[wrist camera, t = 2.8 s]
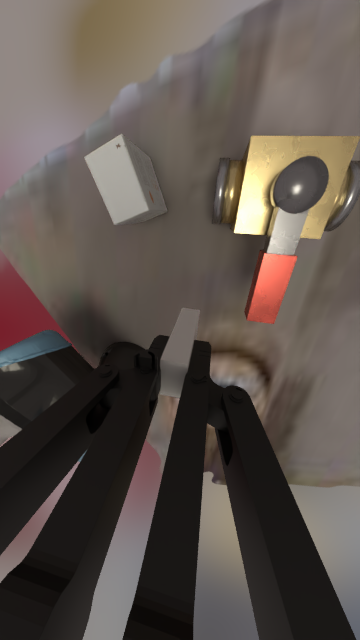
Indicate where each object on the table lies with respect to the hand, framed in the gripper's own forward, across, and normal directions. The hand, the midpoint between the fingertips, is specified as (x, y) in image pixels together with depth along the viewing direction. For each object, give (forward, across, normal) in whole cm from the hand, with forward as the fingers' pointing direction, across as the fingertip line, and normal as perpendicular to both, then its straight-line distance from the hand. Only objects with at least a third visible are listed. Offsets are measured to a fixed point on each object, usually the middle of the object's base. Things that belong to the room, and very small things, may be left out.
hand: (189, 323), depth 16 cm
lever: (+12, +8, +5) cm, 15 cm away
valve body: (+23, +8, +11) cm, 27 cm away
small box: (+23, -12, +11) cm, 28 cm away
